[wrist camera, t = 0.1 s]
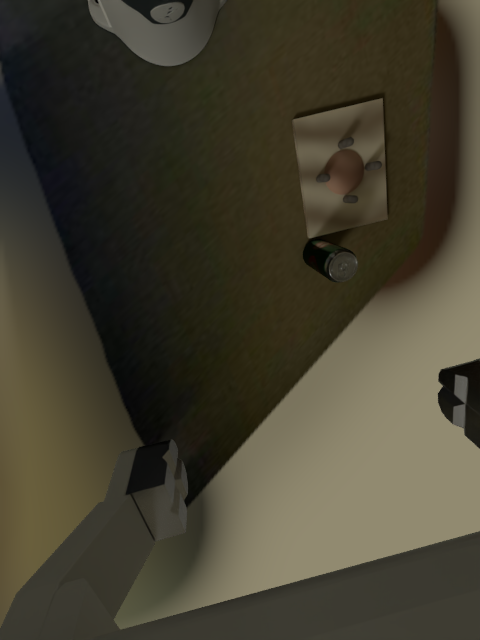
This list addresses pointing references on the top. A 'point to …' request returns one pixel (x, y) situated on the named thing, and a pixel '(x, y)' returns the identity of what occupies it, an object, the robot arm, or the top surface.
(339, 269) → the soda can
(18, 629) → the robot arm
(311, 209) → the can tray
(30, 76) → the top surface
